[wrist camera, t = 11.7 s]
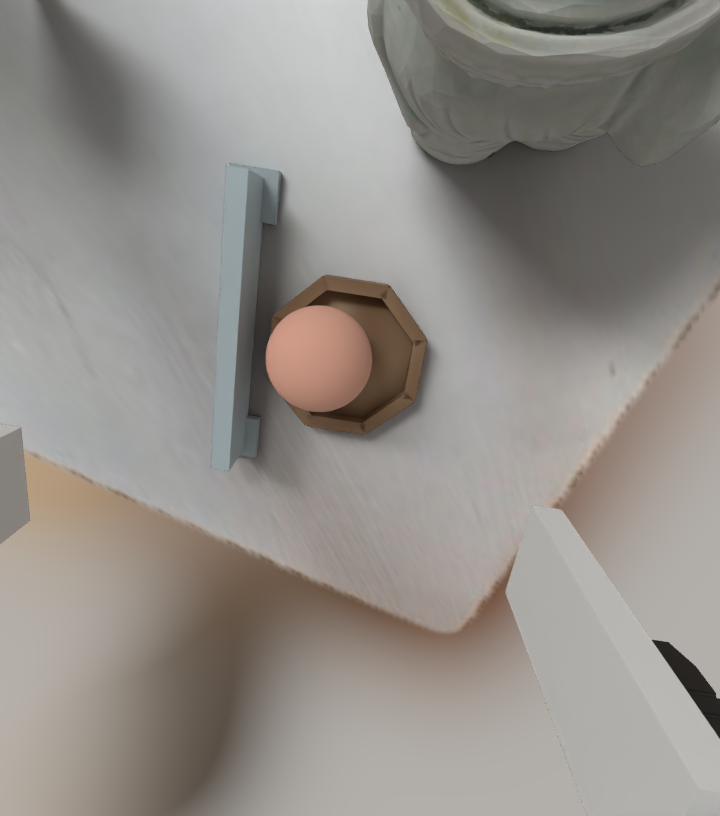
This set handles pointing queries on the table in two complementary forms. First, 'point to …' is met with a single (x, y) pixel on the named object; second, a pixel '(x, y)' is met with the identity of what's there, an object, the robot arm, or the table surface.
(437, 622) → the table surface
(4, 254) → the table surface
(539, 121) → the teapot
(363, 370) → the ball
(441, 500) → the table surface
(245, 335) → the low wall
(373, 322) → the cork ring
